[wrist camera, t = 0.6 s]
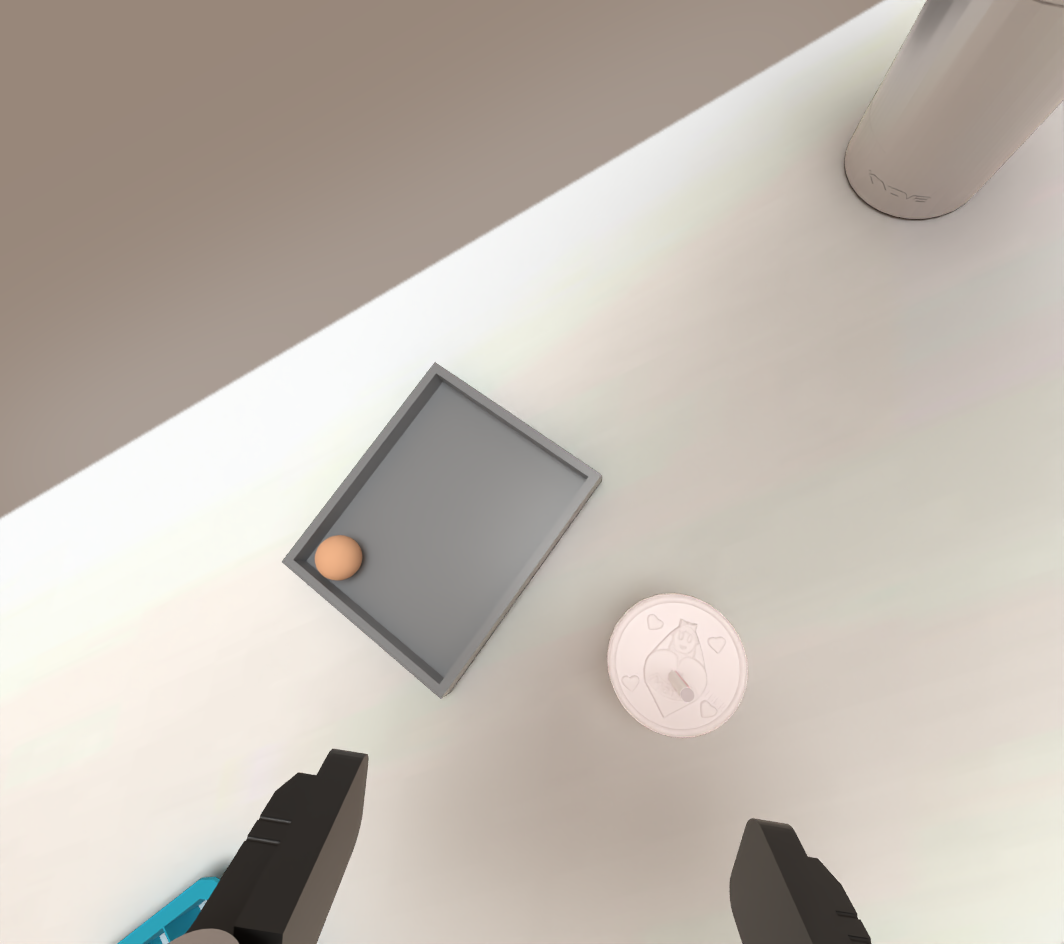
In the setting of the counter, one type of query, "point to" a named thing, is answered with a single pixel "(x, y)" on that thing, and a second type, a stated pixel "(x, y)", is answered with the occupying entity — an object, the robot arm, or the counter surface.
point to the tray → (445, 526)
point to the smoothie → (677, 665)
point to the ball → (338, 557)
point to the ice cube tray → (174, 915)
